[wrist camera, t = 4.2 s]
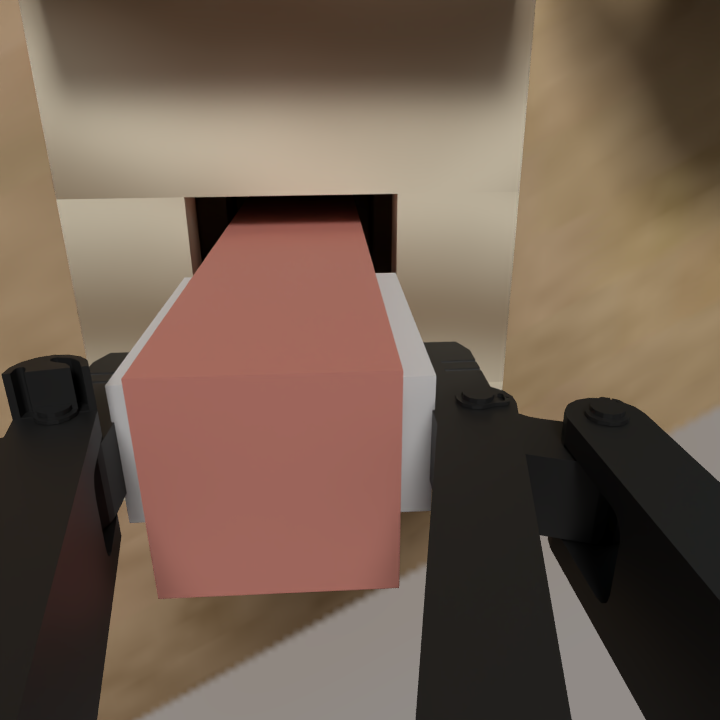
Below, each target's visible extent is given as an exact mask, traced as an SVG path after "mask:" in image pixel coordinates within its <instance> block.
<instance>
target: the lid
mask: <svg viewBox="0 0 720 720" xmlns="http://www.w3.org/2000/svg"><path fill="white" fill-rule="evenodd" d="M18 1H19V6H20V11H21V16H22V22H23V27H24V32H25V37H26V43H27V48H28V53H29V58H30V64H31V69H32V74H33V80H34V85H35V90H36V95H37V101H38V106H39V111H40V116H41V122H42V127H43V132H44V137H45V143H46V148H47V153H48V158H49V164H50V169H51V174H52V179H53V185H54V190H55V195H56V200H57V206H58V211H59V216H60V221H61V227H62V232H63V237H64V242H65V248H66V253H67V258H68V263H69V269H70V274H71V279H72V284H73V290H74V295H75V300H76V305H77V311H78V316H79V321H80V326H81V332H82V337H83V342H84V347H85V353H86V358H87V360H88V364H89V366H90V365H91V364H92V363H93V362H94V361H96V360H98V359H100V358H102V357H104V356H105V355H107V354H109V353H120V352H130V351H131V350H132V348H133V347H134V346H135V344H136V343H137V341H138V340H139V339H140V337H141V336H142V335H143V333H144V332H145V331H146V329H147V328H148V326H149V325H150V324H151V322H152V321H153V320H154V318H155V317H156V316H157V314H158V313H159V312H160V310H161V309H162V307H163V306H164V305H165V303H166V302H167V301H168V299H169V298H170V297H171V295H172V294H173V292H174V291H175V290H176V288H177V287H178V286H179V284H180V283H181V282H182V280H183V279H184V278H185V277H193V275H194V274H195V272H196V271H197V269H198V268H199V267H200V265H201V264H202V260H201V251H200V241H199V232H198V223H197V213H196V204H195V197H233V196H292V195H352V194H392V260H391V273H396V275H397V278H398V280H399V283H400V285H401V288H402V290H403V293H404V295H405V298H406V300H407V303H408V305H409V308H410V311H411V313H412V316H413V318H414V321H415V323H416V326H417V328H418V331H419V333H420V336H421V338H422V341H423V342H453V341H456V342H457V343H459V344H461V345H463V346H464V347H466V348H468V349H469V350H470V351H471V353H472V355H473V356H474V358H475V362H477V364H478V365H479V367H480V370H481V371H482V372H483V374H484V376H485V378H486V379H487V381H488V383H489V385H490V387H493V388H497V389H500V390H502V385H503V373H504V361H505V350H506V338H507V327H508V315H509V304H510V292H511V281H512V269H513V258H514V246H515V234H516V223H517V211H518V200H519V188H520V177H521V165H522V154H523V142H524V131H525V119H526V108H527V96H528V84H529V73H530V61H531V50H532V38H533V27H534V15H535V4H536V0H18ZM124 500H125V498H124Z"/></svg>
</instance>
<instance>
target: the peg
mask: <svg viewBox="0 0 720 720" xmlns="http://www.w3.org/2000/svg"><path fill="white" fill-rule="evenodd" d="M121 381H122V387H123V393H124V399H125V405H126V411H127V417H128V422H129V428H130V434H131V440H132V446H133V452H134V458H135V464H136V470H137V475H138V481H139V487H140V493H141V499H142V505H143V511H144V517H145V523H146V528H147V534H148V540H149V546H150V552H151V558H152V564H153V570H154V576H155V581H156V587H157V593H158V599H166V598H188V597H210V596H232V595H254V594H275V593H297V592H319V591H341V590H363V589H385V588H399V568H400V517H401V466H402V415H403V368H402V364H401V361H400V357H399V354H398V350H397V347H396V343H395V340H394V336H393V333H392V329H391V326H390V323H389V319H388V316H387V312H386V309H385V305H384V302H383V298H382V295H381V291H380V288H379V284H378V281H377V277H376V274H375V270H374V267H373V264H372V260H371V257H370V253H369V250H368V246H367V243H366V239H365V236H364V232H363V229H362V225H361V222H360V218H359V215H358V211H357V208H356V204H355V201H354V198H353V194H352V195H292V196H248V198H247V199H246V201H245V202H244V203H243V205H242V206H241V208H240V209H239V211H238V212H237V214H236V215H235V216H234V218H233V219H232V221H231V222H230V224H229V225H228V226H227V228H226V229H225V231H224V232H223V234H222V235H221V236H220V238H219V239H218V241H217V242H216V244H215V245H214V247H213V248H212V249H211V251H210V252H209V254H208V255H207V257H206V258H205V259H204V261H203V262H202V264H201V265H200V267H199V268H198V269H197V271H196V272H195V274H194V275H193V277H192V278H191V280H190V281H189V282H188V284H187V285H186V287H185V288H184V290H183V291H182V292H181V294H180V295H179V297H178V298H177V300H176V301H175V303H174V304H173V305H172V307H171V308H170V310H169V311H168V313H167V314H166V315H165V317H164V318H163V320H162V321H161V323H160V324H159V325H158V327H157V328H156V330H155V331H154V333H153V334H152V336H151V337H150V338H149V340H148V341H147V343H146V344H145V346H144V347H143V348H142V350H141V351H140V353H139V354H138V356H137V357H136V358H135V360H134V361H133V363H132V364H131V366H130V367H129V369H128V370H127V371H126V373H125V374H124V376H123V377H122V379H121Z"/></svg>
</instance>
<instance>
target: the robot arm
mask: <svg viewBox="0 0 720 720" xmlns="http://www.w3.org/2000/svg"><path fill="white" fill-rule="evenodd" d="M375 274H376V277H377V281H378V284H379V288H380V291H381V295H382V298H383V302H384V305H385V309H386V312H387V316H388V319H389V323H390V326H391V329H392V333H393V336H394V340H395V343H396V347H397V350H398V354H399V357H400V361H401V364H402V368H403V415H402V466H401V512H413V511H431V517H430V531H429V544H428V558H427V572H426V586H425V599H424V613H423V627H422V640H421V654H420V668H419V681H418V695H417V709H416V720H572V719H571V714H570V708H569V702H568V697H567V690H566V685H565V679H564V673H563V668H562V662H561V656H560V651H559V644H558V639H557V633H556V628H555V621H554V616H553V610H552V604H551V598H550V593H549V587H548V581H547V575H546V571H545V564H544V558H543V552H542V547H541V541H540V535H543V536H548V541H549V545H550V548H551V550H552V552H553V554H554V556H555V557H556V559H557V561H558V563H559V565H560V566H561V568H562V570H563V572H564V574H565V575H566V577H567V579H568V581H569V583H570V584H571V586H572V588H573V590H574V591H575V593H576V595H577V597H578V599H579V600H580V602H581V604H582V606H583V608H584V609H585V611H586V613H587V615H588V616H589V618H590V620H591V622H592V624H593V626H594V627H595V629H596V631H597V633H598V634H599V636H600V638H601V640H602V642H603V643H604V645H605V647H606V649H607V650H608V653H609V654H610V656H611V657H612V660H613V661H614V663H615V665H616V667H617V669H618V670H619V672H620V674H621V676H622V678H623V679H624V681H625V683H626V685H627V687H628V688H629V690H630V692H631V694H632V696H633V697H634V699H635V701H636V703H637V705H638V706H639V708H640V710H641V712H642V713H643V715H644V717H645V719H646V720H720V482H719V481H717V480H716V479H715V478H714V477H713V476H712V475H711V474H710V473H709V472H708V471H707V470H705V468H703V467H702V466H701V465H700V464H699V463H698V462H697V461H696V460H695V459H694V458H692V457H691V456H690V455H689V454H688V453H687V452H686V451H685V450H684V449H683V448H682V447H681V446H680V445H678V443H676V442H675V441H674V440H673V439H672V438H671V437H670V436H669V435H668V434H667V433H666V432H665V431H663V430H662V429H661V428H660V427H659V426H658V425H657V424H656V423H655V422H654V421H653V420H652V419H650V418H649V417H648V416H647V415H646V414H645V413H643V412H642V411H640V410H639V409H637V408H636V407H634V406H631V405H629V404H626V403H623V402H622V401H620V400H617V399H612V400H610V398H605V397H600V398H586V399H580V400H576V401H574V402H572V403H570V404H568V405H567V407H566V409H565V412H564V420H563V422H562V421H554V420H546V419H539V418H533V417H528V416H525V415H522V414H518V409H517V403H516V401H515V400H514V398H513V396H511V395H509V394H508V393H506V392H505V391H503V390H500V389H497V388H493V387H490V385H489V383H488V381H487V379H486V378H485V376H484V374H483V372H482V371H481V370H480V367H479V365H478V364H477V362H475V358H474V356H473V355H472V353H471V351H470V350H469V349H468V348H466V347H464V346H463V345H461V344H459V343H457V342H456V341H453V342H423V341H422V338H421V336H420V333H419V331H418V328H417V326H416V323H415V321H414V318H413V316H412V313H411V311H410V308H409V305H408V303H407V300H406V298H405V295H404V293H403V290H402V288H401V285H400V283H399V280H398V278H397V275H396V273H375ZM191 278H192V277H185V278H184V279H183V280H182V282H181V283H180V284H179V286H178V287H177V288H176V290H175V291H174V292H173V294H172V295H171V297H170V298H169V299H168V301H167V302H166V303H165V305H164V306H163V307H162V309H161V310H160V312H159V313H158V314H157V316H156V317H155V318H154V320H153V321H152V322H151V324H150V325H149V326H148V328H147V329H146V331H145V332H144V333H143V335H142V336H141V337H140V339H139V340H138V341H137V343H136V344H135V346H134V347H133V348H132V350H131V351H130V352H120V353H109V354H107V355H105V356H104V357H102V358H100V359H98V360H96V361H94V362H93V363H92V364H91V365H90V366H89V364H88V360H86V359H84V358H82V357H81V356H74V355H51V356H44V357H38V358H34V359H31V360H27V361H24V362H21V363H18V364H16V365H14V366H12V367H10V368H8V369H7V370H6V371H5V372H4V373H3V374H2V379H3V383H4V387H5V391H6V395H7V399H8V403H9V407H10V411H11V415H12V419H13V421H12V423H11V425H10V426H9V428H8V430H7V432H6V434H5V436H4V437H3V438H0V720H97V715H98V708H99V700H100V693H101V685H102V678H103V670H104V663H105V655H106V648H107V640H108V633H109V625H110V618H111V610H112V602H113V595H114V587H115V580H116V572H117V565H118V557H119V550H120V542H121V532H120V527H119V521H118V516H117V512H118V510H119V508H120V506H121V504H122V502H123V500H124V498H125V500H126V505H127V511H128V516H129V522H130V523H138V522H145V517H144V511H143V505H142V499H141V493H140V487H139V481H138V475H137V470H136V464H135V458H134V452H133V446H132V440H131V434H130V428H129V422H128V417H127V411H126V405H125V399H124V393H123V387H122V381H121V379H122V377H123V376H124V374H125V373H126V371H127V370H128V369H129V367H130V366H131V364H132V363H133V361H134V360H135V358H136V357H137V356H138V354H139V353H140V351H141V350H142V348H143V347H144V346H145V344H146V343H147V341H148V340H149V338H150V337H151V336H152V334H153V333H154V331H155V330H156V328H157V327H158V325H159V324H160V323H161V321H162V320H163V318H164V317H165V315H166V314H167V313H168V311H169V310H170V308H171V307H172V305H173V304H174V303H175V301H176V300H177V298H178V297H179V295H180V294H181V292H182V291H183V290H184V288H185V287H186V285H187V284H188V282H189V281H190V280H191ZM431 491H432V503H431Z"/></svg>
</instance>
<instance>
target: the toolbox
mask: <svg viewBox="0 0 720 720" xmlns="http://www.w3.org/2000/svg"><path fill="white" fill-rule="evenodd" d="M247 198H248V196H233V197H195V204H196V213H197V223H198V232H199V241H200V251H201V260H202V262H203V261H204V259H205V258H206V257H207V255H208V254H209V252H210V251H211V249H212V248H213V247H214V245H215V244H216V242H217V241H218V239H219V238H220V236H221V235H222V234H223V232H224V231H225V229H226V228H227V226H228V225H229V224H230V222H231V221H232V219H233V218H234V216H235V215H236V214H237V212H238V211H239V209H240V208H241V206H242V205H243V203H244V202H245V201H246V199H247ZM353 198H354V201H355V204H356V208H357V211H358V215H359V218H360V222H361V225H362V229H363V232H364V236H365V239H366V243H367V246H368V250H369V253H370V257H371V260H372V264H373V267H374V270H375V273H391V260H392V194H353Z"/></svg>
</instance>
